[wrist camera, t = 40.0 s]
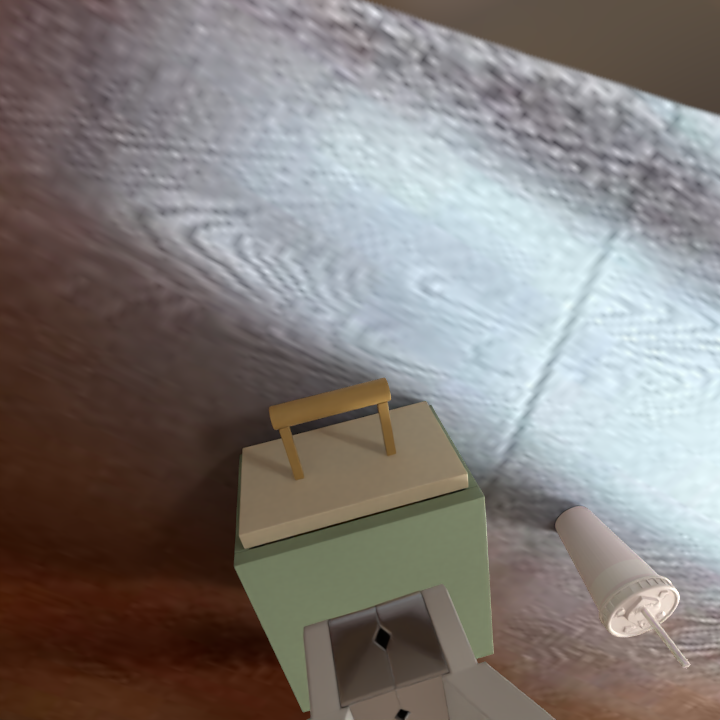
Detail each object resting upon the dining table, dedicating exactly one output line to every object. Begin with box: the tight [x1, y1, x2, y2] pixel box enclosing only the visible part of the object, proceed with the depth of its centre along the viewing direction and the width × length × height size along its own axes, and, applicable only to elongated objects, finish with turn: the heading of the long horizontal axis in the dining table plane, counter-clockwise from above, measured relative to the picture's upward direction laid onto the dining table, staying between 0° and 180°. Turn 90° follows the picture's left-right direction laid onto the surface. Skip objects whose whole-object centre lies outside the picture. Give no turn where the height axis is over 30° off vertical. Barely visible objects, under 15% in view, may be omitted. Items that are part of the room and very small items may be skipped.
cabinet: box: [234, 405, 493, 712], centre depth 35 cm, size 17×15×10 cm
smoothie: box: [555, 506, 690, 668], centre depth 40 cm, size 6×6×14 cm
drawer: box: [239, 378, 468, 549], centre depth 33 cm, size 21×14×8 cm, turn 10°
